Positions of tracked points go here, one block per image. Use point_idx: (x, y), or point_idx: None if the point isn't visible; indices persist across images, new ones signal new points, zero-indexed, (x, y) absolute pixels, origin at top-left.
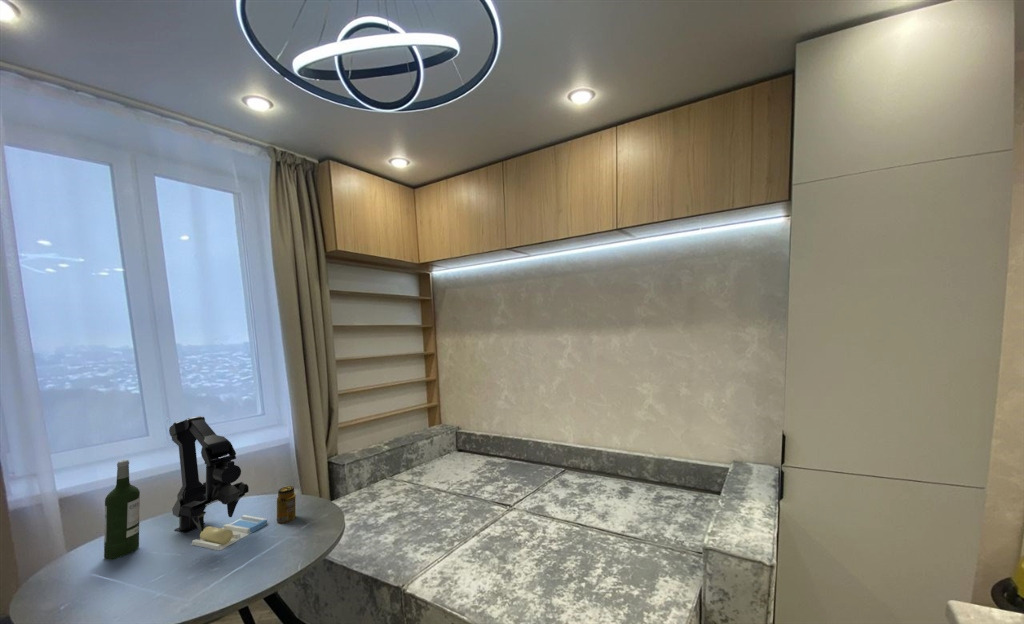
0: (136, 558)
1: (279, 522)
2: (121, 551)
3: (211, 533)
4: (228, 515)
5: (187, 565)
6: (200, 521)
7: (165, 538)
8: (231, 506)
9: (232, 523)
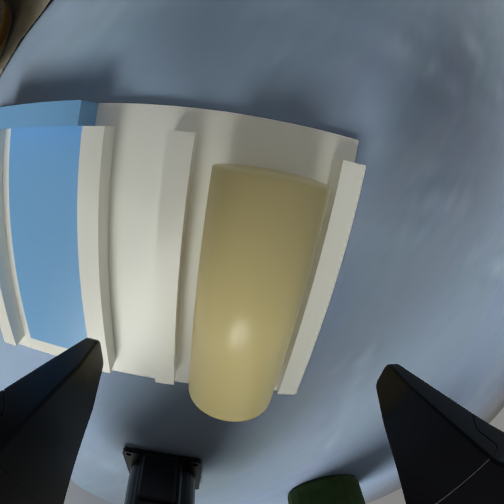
0: (361, 449)
1: (3, 28)
2: (354, 488)
3: (290, 328)
4: (99, 379)
5: (460, 223)
6: (482, 425)
7: (240, 478)
8: (42, 438)
9: (63, 351)
